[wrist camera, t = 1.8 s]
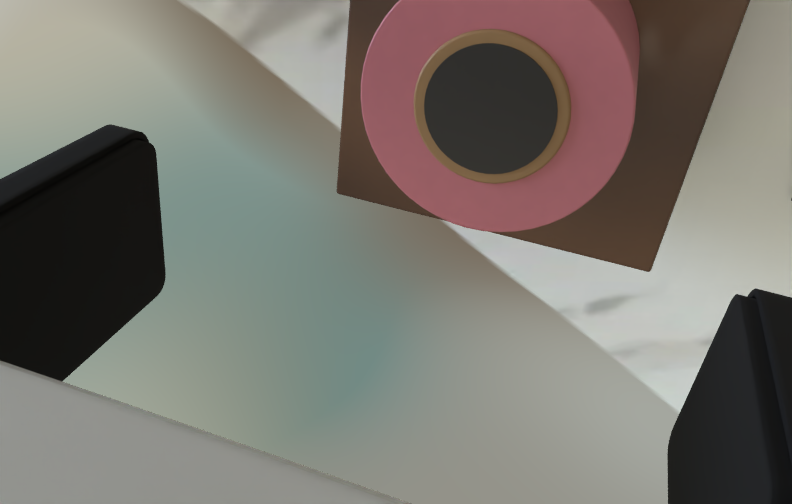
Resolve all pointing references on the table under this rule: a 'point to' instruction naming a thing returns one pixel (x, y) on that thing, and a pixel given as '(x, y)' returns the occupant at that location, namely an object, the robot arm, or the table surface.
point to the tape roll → (502, 105)
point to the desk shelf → (646, 152)
